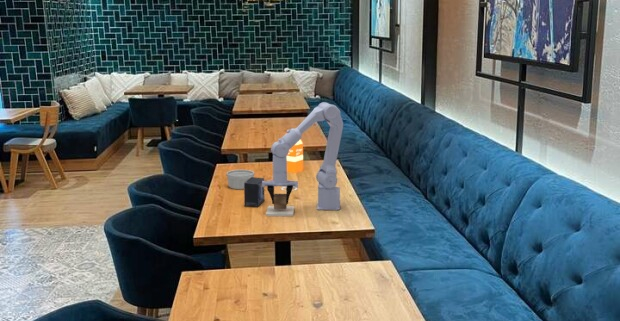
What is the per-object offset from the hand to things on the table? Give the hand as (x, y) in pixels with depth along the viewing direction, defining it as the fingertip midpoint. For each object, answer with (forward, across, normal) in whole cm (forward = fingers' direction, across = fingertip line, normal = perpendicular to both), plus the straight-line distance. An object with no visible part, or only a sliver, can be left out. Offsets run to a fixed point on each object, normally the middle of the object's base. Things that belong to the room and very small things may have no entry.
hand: (280, 203), depth 243 cm
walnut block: (+2, 0, 0) cm, 2 cm away
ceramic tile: (+4, 0, 0) cm, 4 cm away
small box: (+4, -12, +12) cm, 17 cm away
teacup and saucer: (+4, +4, +36) cm, 36 cm away
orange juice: (+4, +1, +73) cm, 73 cm away
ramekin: (+4, -22, +40) cm, 46 cm away
